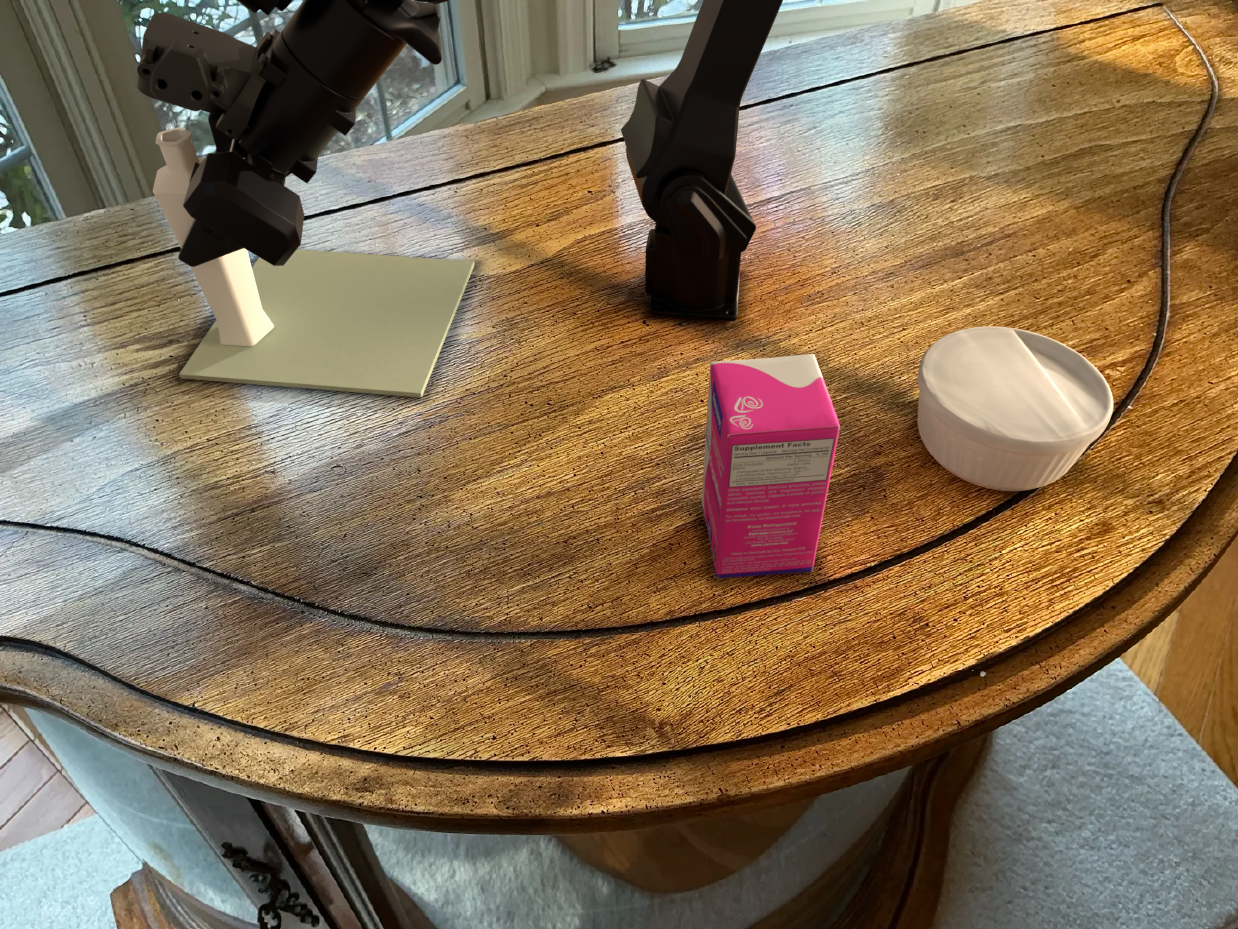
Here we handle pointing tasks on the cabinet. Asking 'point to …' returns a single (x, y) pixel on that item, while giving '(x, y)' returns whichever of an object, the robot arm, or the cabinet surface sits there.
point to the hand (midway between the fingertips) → (191, 241)
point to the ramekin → (1009, 406)
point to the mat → (343, 324)
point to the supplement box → (767, 464)
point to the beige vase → (222, 277)
